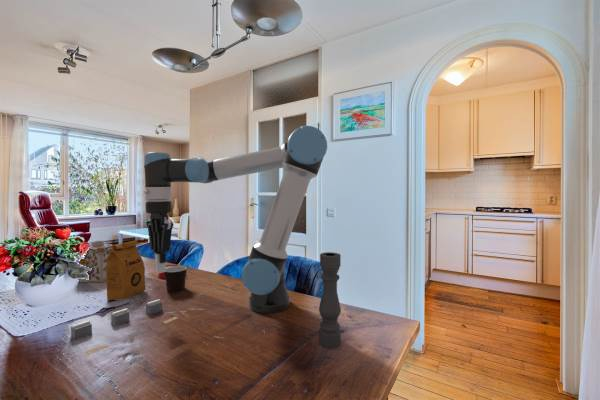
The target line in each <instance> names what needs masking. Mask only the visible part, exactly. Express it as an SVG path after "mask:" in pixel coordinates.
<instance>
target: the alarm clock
mask: <svg viewBox="0 0 600 400" xmlns="http://www.w3.org/2000/svg"><path fill="white" fill-rule="evenodd" d="M174 266H178V264H177V265H176V264H172V265H171V264H170V265H166V268H169V267H174ZM157 277H158V278H159V279H165V274H164V272H163V273H159V274H157Z"/></svg>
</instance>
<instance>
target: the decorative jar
mask: <svg viewBox="0 0 600 400" xmlns="http://www.w3.org/2000/svg"><path fill="white" fill-rule="evenodd" d="M104 242H105V241H104V240H95V241H92V242H91V244H90V245H89V246H90V248H89V250H88V251H87V254H86V255H84V256H85V258H84V259H81V260H80V261H79V262H78V263H79V264H81V265H83V266H86V267H89V268H92V270H91V271H88V272H87V273H88V275H89V280H86V279H78V278H77V281H78V280H79V281H81V282H80V283H104V282H105V281H106V265H107V259H108V256H109V254H110V251H111V248H112V246H113V245H114V244H112V243H104Z"/></svg>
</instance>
